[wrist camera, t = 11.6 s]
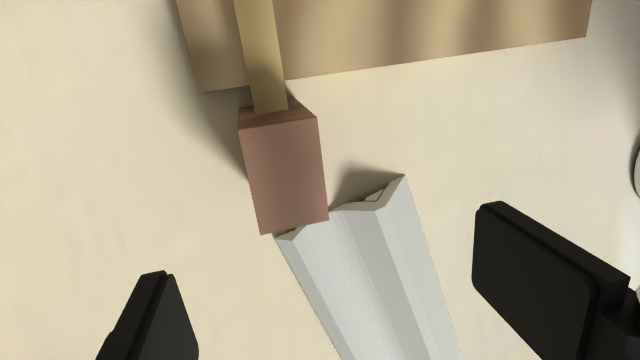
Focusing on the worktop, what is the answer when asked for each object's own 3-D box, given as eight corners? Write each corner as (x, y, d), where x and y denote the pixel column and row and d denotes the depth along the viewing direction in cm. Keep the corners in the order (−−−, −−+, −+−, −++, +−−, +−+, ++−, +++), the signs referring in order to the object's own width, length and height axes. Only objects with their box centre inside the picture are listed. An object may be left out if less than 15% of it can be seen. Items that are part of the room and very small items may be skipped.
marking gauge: (273, -63, 20) (288, -118, 13) (307, 178, 26) (329, 220, 19) (204, -57, 19) (184, -112, 13) (255, 188, 25) (260, 235, 19)
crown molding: (275, 231, 27) (280, 256, 24) (404, 169, 28) (426, 185, 25) (385, 432, 40) (399, 467, 37) (473, 386, 41) (494, 416, 37)
